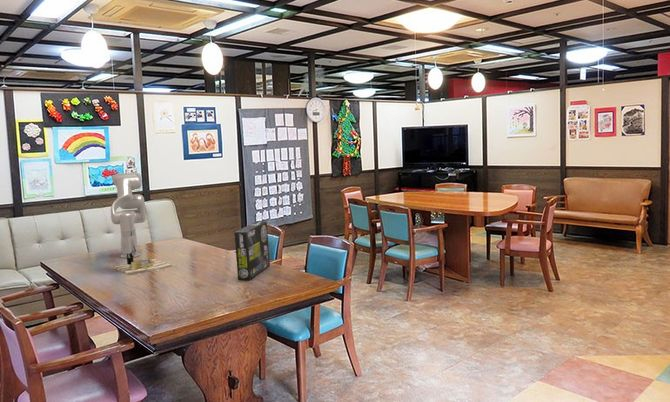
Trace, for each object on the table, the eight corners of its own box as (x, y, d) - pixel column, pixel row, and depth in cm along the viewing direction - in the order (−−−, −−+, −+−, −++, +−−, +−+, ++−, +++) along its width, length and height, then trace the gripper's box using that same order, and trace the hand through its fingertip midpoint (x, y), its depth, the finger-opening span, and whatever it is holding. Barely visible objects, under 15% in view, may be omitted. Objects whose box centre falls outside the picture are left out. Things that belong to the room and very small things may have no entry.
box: (250, 280, 280) (247, 231, 278) (237, 280, 282) (233, 231, 279) (270, 266, 313) (267, 221, 310) (258, 265, 315) (255, 221, 312)
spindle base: (113, 268, 324) (112, 262, 324) (154, 260, 341) (154, 255, 341) (128, 275, 305) (128, 268, 304) (171, 266, 322) (171, 260, 321)
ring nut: (122, 270, 311) (121, 262, 311) (136, 262, 330) (135, 255, 330) (145, 269, 311) (144, 261, 310) (157, 262, 329) (157, 254, 329)
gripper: (115, 233, 314) (118, 263, 316) (128, 236, 304) (131, 267, 307) (127, 231, 320) (129, 261, 322) (140, 233, 310) (143, 264, 312)
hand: (130, 264), depth 314 cm, fingers closed
